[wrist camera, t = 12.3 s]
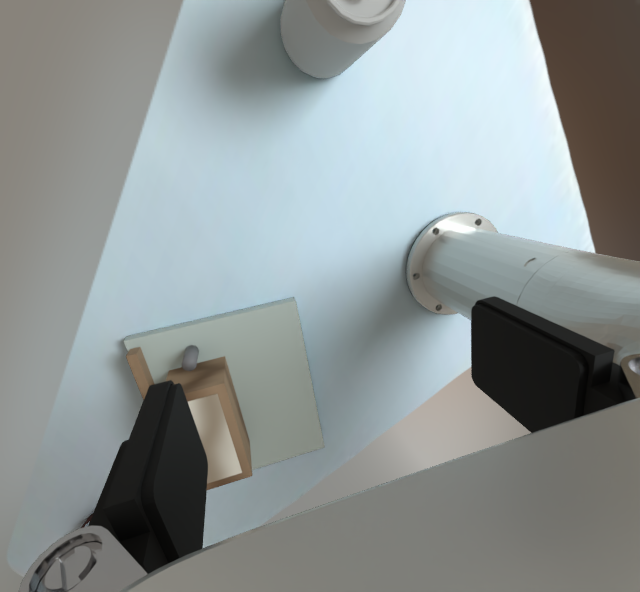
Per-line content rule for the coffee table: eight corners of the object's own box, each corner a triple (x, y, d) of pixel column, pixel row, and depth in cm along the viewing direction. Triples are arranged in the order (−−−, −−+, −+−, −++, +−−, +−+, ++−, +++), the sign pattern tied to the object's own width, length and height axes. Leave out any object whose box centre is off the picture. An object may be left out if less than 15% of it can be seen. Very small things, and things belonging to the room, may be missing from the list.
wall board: (293, 297, 40) (300, 310, 36) (322, 441, 47) (330, 464, 44) (126, 336, 37) (114, 355, 33) (185, 483, 44) (180, 512, 40)
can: (365, -1, 32) (435, -92, 21) (349, 89, 35) (406, 49, 24) (285, -29, 30) (317, -145, 19) (273, 69, 32) (296, 14, 21)
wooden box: (224, 356, 39) (224, 383, 34) (249, 440, 43) (252, 476, 38) (168, 370, 38) (159, 401, 33) (199, 455, 42) (195, 494, 37)
